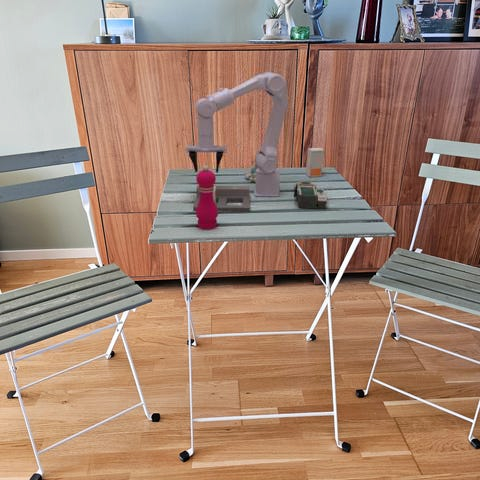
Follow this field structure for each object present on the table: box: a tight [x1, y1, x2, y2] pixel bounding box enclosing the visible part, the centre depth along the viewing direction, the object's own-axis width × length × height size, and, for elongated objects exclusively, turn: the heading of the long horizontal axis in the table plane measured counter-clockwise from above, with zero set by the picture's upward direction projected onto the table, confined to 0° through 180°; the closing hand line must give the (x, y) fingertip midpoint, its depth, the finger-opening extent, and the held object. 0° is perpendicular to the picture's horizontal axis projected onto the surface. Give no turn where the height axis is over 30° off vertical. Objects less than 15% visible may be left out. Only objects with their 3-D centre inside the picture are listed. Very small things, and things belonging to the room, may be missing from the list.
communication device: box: [293, 180, 328, 210], centre depth 154 cm, size 12×24×9 cm, turn 175°
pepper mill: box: [195, 164, 219, 230], centre depth 127 cm, size 7×7×20 cm
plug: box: [213, 185, 217, 205], centre depth 146 cm, size 4×5×7 cm
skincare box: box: [305, 147, 325, 178], centre depth 178 cm, size 6×4×12 cm
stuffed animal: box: [244, 163, 257, 183], centre depth 174 cm, size 11×7×12 cm
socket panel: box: [192, 184, 251, 213], centre depth 148 cm, size 20×16×4 cm
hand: (206, 171), depth 149 cm, fingers open, 7 cm apart
